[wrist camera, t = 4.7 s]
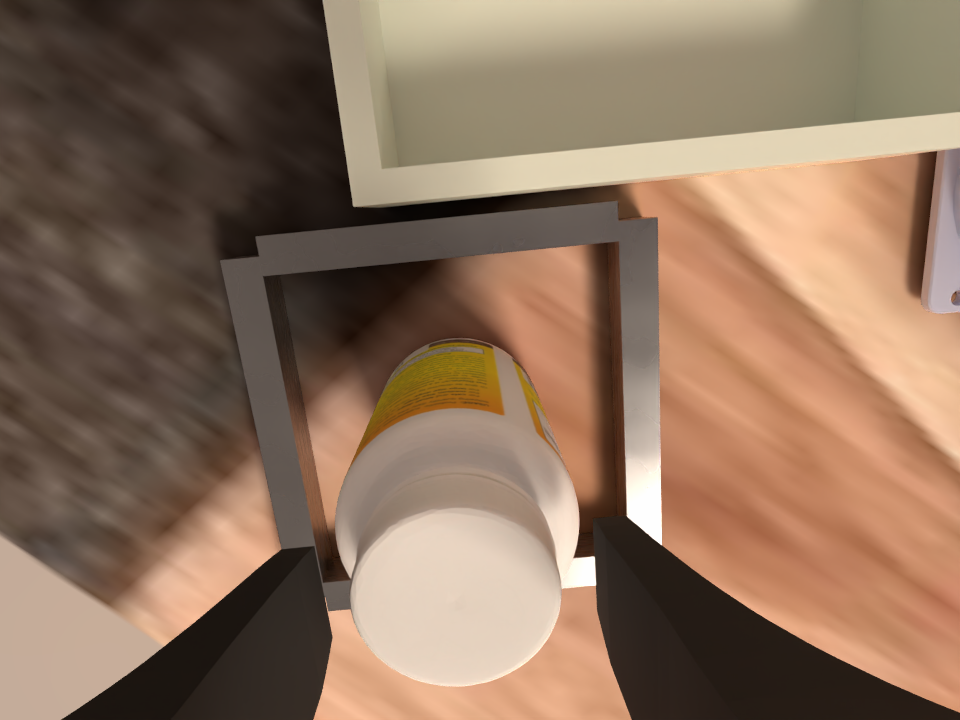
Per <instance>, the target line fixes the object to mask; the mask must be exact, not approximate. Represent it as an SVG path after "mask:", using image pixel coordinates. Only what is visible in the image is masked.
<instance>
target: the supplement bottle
mask: <svg viewBox="0 0 960 720" xmlns="http://www.w3.org/2000/svg"><path fill="white" fill-rule="evenodd" d="M335 534H336V541H337V547H338V551H339V554H340V558H341V561H342V563H343V565H344V567H345V569H346V572H347V573H348V575H349V577H350V579H351V583H350V606H351V612H352V616H353V620H354V623H355V625H356V628H357V630H358V632H359V634H360V636H361V637H362V639H363V640H364V642H365V643H366V645H367V646H368V647H369V649H370V650H371V651H372V652H373V653H374V654H375V655H376V656H377V657H378V658H379V659H380V660H382V661H383V662H384V663H385V664H387V665H388V666H389V667H391V668H392V669H394V670H396V671H397V672H399V673H401V674H402V675H404V676H407V677H409V678H412V679H414V680H417V681H421V682H424V683H428V684H434V685H441V686H469V685H475V684H480V683H486V682H489V681H492V680H495V679H498V678H500V677H502V676H505V675H507V674H509V673H510V672H512V671H514V670H516V669H517V668H519V667H520V666H522V665H523V664H525V663H526V662H527V661H528V660H530V659H531V658H532V657H533V656H534V655H535V654H536V653H537V652H538V651H539V650H540V649H541V647H542V646H543V645H544V643H545V642H546V641H547V639H548V638H549V636H550V634H551V632H552V630H553V628H554V626H555V624H556V621H557V618H558V615H559V611H560V605H561V595H562V590H561V581H562V579H563V577H564V576H565V574H566V572H567V570H568V568H569V566H570V564H571V562H572V560H573V557H574V554H575V550H576V546H577V541H578V535H579V508H578V502H577V498H576V494H575V490H574V487H573V483H572V480H571V478H570V475H569V472H568V470H567V468H566V465H565V462H564V460H563V457H562V455H561V453H560V450H559V448H558V445H557V442H556V440H555V437H554V434H553V432H552V429H551V427H550V424H549V422H548V420H547V417H546V415H545V412H544V409H543V407H542V405H541V402H540V400H539V397H538V394H537V392H536V390H535V388H534V385H533V383H532V381H531V379H530V378H529V376H528V374H527V373H526V371H525V370H524V369H523V368H522V366H521V365H520V364H519V363H518V362H517V361H516V360H515V359H514V358H513V357H512V356H510V355H509V354H508V353H506V352H505V351H503V350H502V349H500V348H498V347H496V346H494V345H492V344H489V343H487V342H483V341H480V340H475V339H468V338H452V339H443V340H439V341H435V342H432V343H430V344H427V345H425V346H423V347H421V348H419V349H417V350H416V351H414V352H413V353H411V354H410V355H409V356H408V357H406V358H405V359H404V360H403V361H402V362H401V363H400V364H399V365H398V367H397V368H396V369H395V370H394V372H393V373H392V375H391V376H390V378H389V379H388V381H387V383H386V385H385V388H384V390H383V392H382V394H381V397H380V399H379V401H378V403H377V406H376V408H375V410H374V413H373V415H372V417H371V419H370V422H369V424H368V426H367V428H366V431H365V433H364V435H363V438H362V440H361V442H360V444H359V447H358V449H357V451H356V454H355V456H354V458H353V461H352V463H351V465H350V468H349V470H348V472H347V474H346V476H345V479H344V482H343V485H342V487H341V491H340V494H339V497H338V501H337V507H336V515H335Z"/></svg>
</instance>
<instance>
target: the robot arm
mask: <svg viewBox="0 0 960 720" xmlns="http://www.w3.org/2000/svg"><path fill="white" fill-rule="evenodd" d="M955 291H956V293H957V296H956V299H955V300H954V301H953V302H951V297H952V294H953V293H954V292H955ZM921 305H922V306H923V308H924V309H925V310H927V311H928V312H933V313H939V314H943V313H953V312H960V148H957V149H949V150H941V151H937V158H936V167H935V176H934V185H933V194H932V203H931V212H930V221H929V230H928V239H927V248H926V257H925V266H924V275H923V284H922V293H921ZM593 535H594V555H595V575H596V595H597V612H598V616H599V620H600V624H601V628H602V632H603V636H604V640H605V644H606V648H607V651H608V655H609V659H610V663H611V666H612V668H613V671H614V674H615V676H616V679H617V682H618V684H619V687H620V690H621V692H622V695H623V698H624V700H625V703H626V706H627V708H628V711H629V713H630V716H631V719H632V720H960V713H959V712H956V711H954V710H951V709H949V708H946V707H944V706H941V705H939V704H936V703H934V702H932V701H929V700H927V699H924V698H922V697H920V696H917V695H915V694H913V693H910V692H908V691H906V690H904V689H901V688H899V687H897V686H894V685H892V684H890V683H888V682H885V681H883V680H881V679H879V678H877V677H875V676H873V675H871V674H869V673H867V672H865V671H863V670H860V669H858V668H856V667H854V666H852V665H850V664H848V663H846V662H844V661H842V660H840V659H838V658H836V657H834V656H832V655H830V654H828V653H826V652H824V651H822V650H820V649H818V648H816V647H814V646H812V645H811V644H809V643H807V642H805V641H803V640H802V639H800V638H798V637H796V636H795V635H793V634H791V633H789V632H788V631H786V630H784V629H782V628H781V627H779V626H777V625H775V624H774V623H772V622H770V621H768V620H767V619H765V618H764V617H762V616H760V615H759V614H757V613H755V612H754V611H752V610H751V609H749V608H748V607H746V606H745V605H743V604H742V603H740V602H739V601H737V600H736V599H734V598H733V597H731V596H730V595H728V594H727V593H725V592H724V591H722V590H721V589H719V588H718V587H716V586H715V585H713V584H712V583H711V582H709V581H708V580H706V579H705V578H704V577H702V576H701V575H700V574H698V573H697V572H696V571H694V570H693V569H691V568H690V567H689V566H688V565H686V564H685V563H684V562H682V561H681V560H680V559H678V558H677V557H676V556H675V555H673V554H672V553H671V552H670V551H668V550H667V549H666V548H665V547H663V546H662V545H661V544H660V543H658V542H657V541H656V540H655V539H653V538H652V537H651V536H650V535H649V534H647V533H646V532H645V531H644V530H643V529H641V528H640V527H639V526H638V525H637V524H635V523H634V522H633V521H632V520H630V519H629V518H628V517H627V516H625V515H623V516H613V517H603V518H593ZM331 643H332V632H331V627H330V622H329V617H328V612H327V607H326V602H325V597H324V592H323V587H322V582H321V577H320V572H319V567H318V562H317V557H316V552H315V546H309V547H299V548H289V549H282V550H280V551H279V552H278V553H276V554H275V555H274V556H272V557H271V558H270V559H269V560H268V561H266V562H265V563H264V564H263V565H262V566H260V567H259V568H258V569H257V570H256V571H254V572H253V573H252V574H251V575H250V576H249V577H248V578H246V579H245V580H244V581H243V582H242V583H241V584H239V585H238V586H237V587H236V588H235V589H234V590H232V591H231V592H230V593H229V594H228V595H227V596H225V597H224V598H223V599H222V600H221V601H220V602H218V603H217V604H216V605H215V606H214V607H212V608H211V609H210V610H209V611H208V612H207V613H205V614H204V615H203V616H202V617H201V618H200V619H198V620H197V621H196V622H195V623H193V624H192V625H191V626H190V627H188V628H187V629H186V630H184V631H183V632H182V633H181V634H179V635H178V636H177V637H176V638H174V639H173V640H172V641H171V642H169V643H168V644H167V645H165V646H164V647H163V648H162V649H160V650H159V651H158V652H157V653H155V654H154V655H153V656H152V657H150V658H149V659H148V660H147V661H145V662H144V663H143V664H141V665H140V666H139V667H137V668H136V669H134V670H133V671H132V672H131V673H129V674H128V675H127V676H125V677H123V678H122V679H121V680H119V681H118V682H116V683H115V684H114V685H112V686H111V687H109V688H108V689H106V690H105V691H103V692H102V693H101V694H99V695H98V696H96V697H95V698H93V699H92V700H91V701H89V702H87V703H86V704H84V705H83V706H81V707H80V708H79V709H77V710H76V711H74V712H72V713H71V714H70V715H68V716H66V717H65V718H63V719H62V720H313V719H314V716H315V712H316V709H317V706H318V703H319V700H320V696H321V693H322V689H323V684H324V679H325V674H326V670H327V664H328V659H329V653H330V648H331Z"/></svg>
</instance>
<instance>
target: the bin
mask: <svg viewBox="0 0 960 720" xmlns="http://www.w3.org/2000/svg"><path fill="white" fill-rule="evenodd" d="M323 6H324V13H325V20H326V26H327V33H328V40H329V47H330V53H331V60H332V67H333V73H334V80H335V87H336V94H337V100H338V107H339V114H340V121H341V127H342V134H343V141H344V148H345V154H346V161H347V168H348V174H349V181H350V188H351V195H352V201H353V207H374V208H384V207H394V206H405V205H415V204H425V203H435V202H445V201H455V200H466V199H476V198H486V197H496V196H506V195H516V194H527V193H537V192H547V191H557V190H567V189H577V188H588V187H598V186H608V185H618V184H628V183H638V182H648V181H659V180H669V179H679V178H689V177H699V176H709V175H720V174H730V173H740V172H750V171H760V170H770V169H781V168H791V167H801V166H811V165H821V164H831V163H841V162H852V161H861V160H869V159H877V158H885V157H893V156H901V155H909V154H917V153H925V152H933V151H941V150H949V149H957V148H960V0H323Z"/></svg>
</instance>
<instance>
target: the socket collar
mask: <svg viewBox="0 0 960 720" xmlns="http://www.w3.org/2000/svg"><path fill="white" fill-rule="evenodd" d="M255 238H256V243H257V248H258V253H259V255H250V256H240V257H235V258H230V259H225V260H220V262H221V267H222V272H223V277H224V281H225V286H226V291H227V295H228V300H229V305H230V309H231V314H232V319H233V323H234V328H235V333H236V337H237V342H238V347H239V351H240V356H241V361H242V366H243V370H244V375H245V380H246V384H247V389H248V394H249V398H250V403H251V408H252V412H253V417H254V422H255V426H256V431H257V436H258V440H259V445H260V450H261V454H262V459H263V464H264V469H265V473H266V478H267V483H268V487H269V492H270V497H271V501H272V506H273V511H274V515H275V520H276V525H277V529H278V534H279V539H280V543H281V548H282V549H289V548H299V547H309V546H315V552H316V557H317V562H318V567H319V572H320V577H321V582H322V587H323V592H324V597H326V601H327V607H328V611H335V610H346V609H351V606H350V583H351V579H350V577H349V575H348V573H347V572H346V569H345V567H344V565H343V563H342V561H341V558H340V557H336V558H332V552H331V547H330V542H329V536H328V531H327V526H326V520H325V515H324V510H323V504H322V499H321V494H320V488H319V483H318V478H317V472H316V467H315V462H314V456H313V451H312V446H311V440H310V435H309V430H308V424H307V419H306V414H305V408H304V403H303V398H302V392H301V387H300V382H299V376H298V371H297V366H296V360H295V355H294V350H293V344H292V339H291V334H290V328H289V323H288V318H287V312H286V307H285V302H284V296H283V291H282V286H281V280H280V275H281V274H291V273H302V272H312V271H322V270H332V269H342V268H353V267H363V266H373V265H383V264H393V263H403V262H414V261H424V260H434V259H444V258H454V257H464V256H475V255H485V254H495V253H505V252H515V251H526V250H536V249H546V248H556V247H566V246H576V245H587V244H597V243H607V250H608V279H609V307H610V336H611V364H612V393H613V421H614V450H615V478H616V507H617V516H623V515H625V516H627V517H628V518H629V519H630V520H632V521H633V522H634V523H635V524H637V525H638V526H639V527H640V528H641V529H643V530H644V531H645V532H646V533H647V534H649V535H650V536H651V537H652V538H653V539H655V540H656V541H657V542H658V543H660V544H661V460H660V376H659V292H658V217H636V218H626V219H618V201H608V202H597V203H587V204H577V205H567V206H557V207H546V208H536V209H526V210H516V211H506V212H496V213H485V214H475V215H465V216H455V217H445V218H435V219H424V220H414V221H404V222H394V223H384V224H374V225H363V226H353V227H343V228H333V229H323V230H313V231H302V232H292V233H282V234H272V235H264V236H256V237H255ZM661 545H662V544H661ZM592 585H596V575H595V555H594V535H593V533H582V534H579V535H578V541H577V546H576V550H575V554H574V557H573V560H572V562H571V564H570V566H569V568H568V570H567V572H566V574H565V576H564V577H563V579H562V581H561V589H562V588H572V587H582V586H592Z"/></svg>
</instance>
